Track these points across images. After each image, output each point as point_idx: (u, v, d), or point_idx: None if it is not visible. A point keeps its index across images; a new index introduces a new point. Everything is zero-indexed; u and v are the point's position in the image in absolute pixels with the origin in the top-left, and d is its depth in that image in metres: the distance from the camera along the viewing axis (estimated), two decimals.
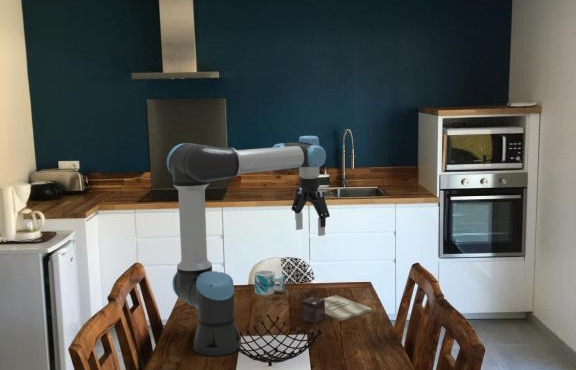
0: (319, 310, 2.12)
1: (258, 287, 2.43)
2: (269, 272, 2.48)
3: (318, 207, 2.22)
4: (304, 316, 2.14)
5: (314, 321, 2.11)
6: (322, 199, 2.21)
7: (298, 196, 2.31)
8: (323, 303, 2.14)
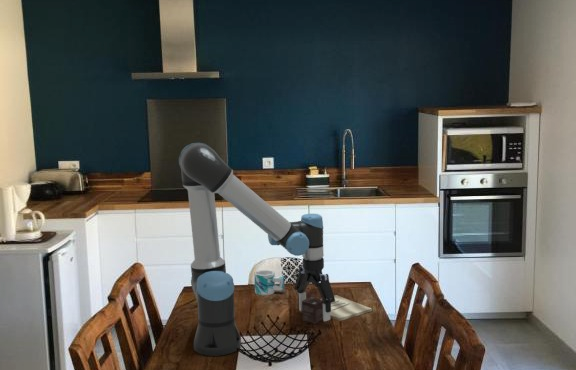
0: (319, 310, 2.12)
1: (258, 287, 2.43)
2: (269, 272, 2.48)
3: (323, 291, 2.09)
4: (304, 316, 2.14)
5: (314, 321, 2.11)
6: (327, 283, 2.07)
7: (301, 276, 2.18)
8: None
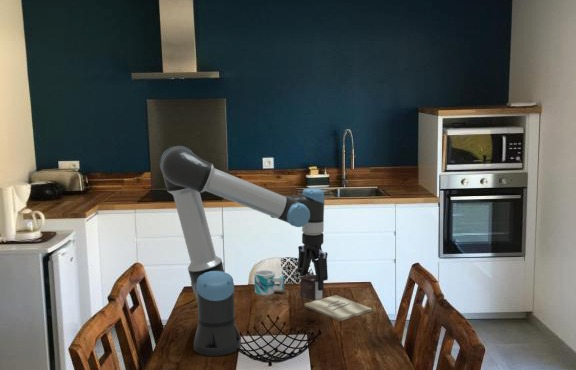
0: None
1: (258, 287, 2.43)
2: (269, 272, 2.48)
3: (318, 268, 2.09)
4: (302, 293, 2.13)
5: (312, 298, 2.10)
6: (324, 261, 2.07)
7: (302, 254, 2.16)
8: None
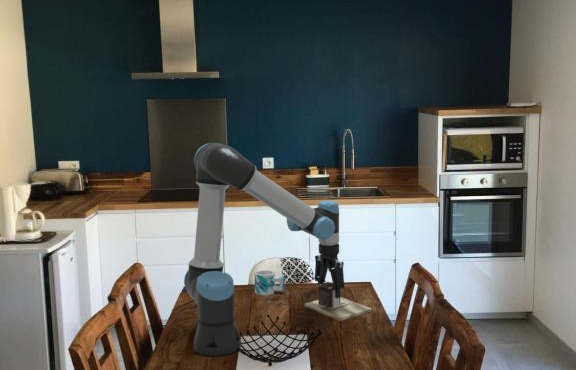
0: None
1: (258, 287, 2.43)
2: (269, 272, 2.48)
3: (335, 277, 2.18)
4: (320, 300, 2.22)
5: (330, 305, 2.19)
6: (340, 270, 2.16)
7: (318, 264, 2.25)
8: None
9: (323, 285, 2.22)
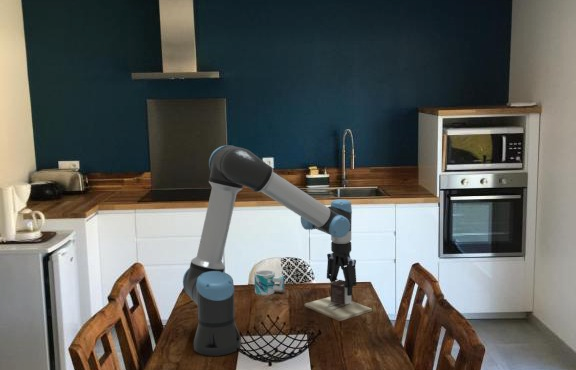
0: None
1: (258, 287, 2.43)
2: (269, 272, 2.48)
3: (347, 275, 2.22)
4: (332, 298, 2.25)
5: (342, 302, 2.23)
6: (353, 268, 2.20)
7: (330, 262, 2.28)
8: None
9: (335, 283, 2.26)
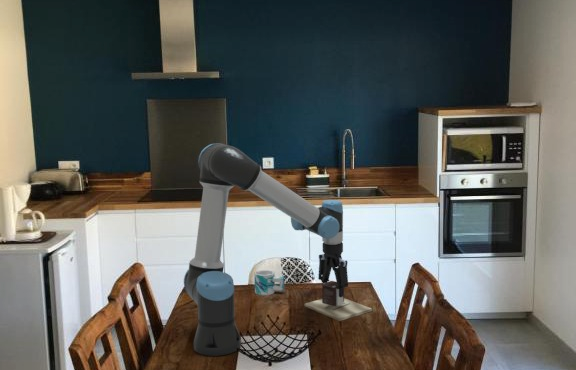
0: None
1: (258, 287, 2.43)
2: (269, 272, 2.48)
3: (339, 276, 2.19)
4: (324, 299, 2.23)
5: (334, 304, 2.20)
6: (344, 269, 2.17)
7: (322, 263, 2.26)
8: None
9: (327, 284, 2.23)
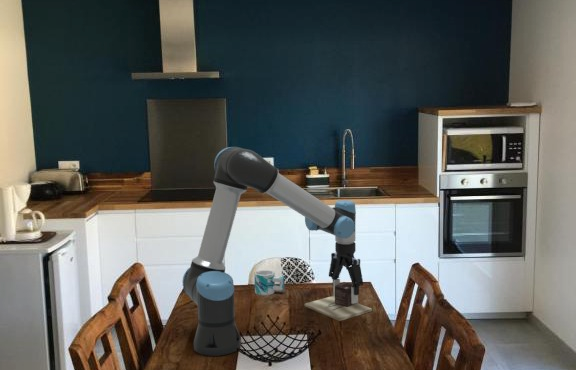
0: None
1: (258, 287, 2.43)
2: (269, 272, 2.48)
3: (353, 274, 2.22)
4: (336, 300, 2.27)
5: (346, 305, 2.24)
6: (358, 267, 2.20)
7: (334, 261, 2.30)
8: None
9: (339, 285, 2.27)
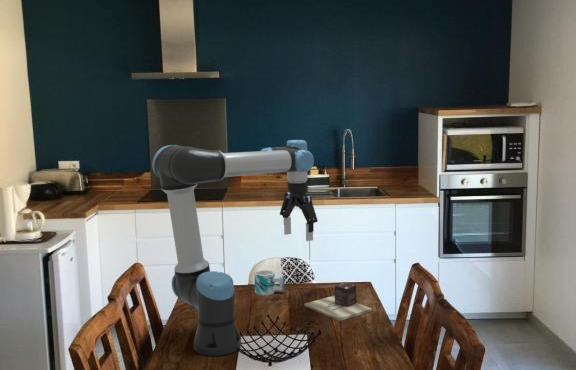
0: (351, 294, 2.25)
1: (258, 287, 2.43)
2: (269, 272, 2.48)
3: (306, 212, 2.20)
4: (336, 300, 2.27)
5: (346, 305, 2.24)
6: (310, 204, 2.19)
7: (286, 201, 2.29)
8: (355, 288, 2.27)
9: (339, 285, 2.27)
